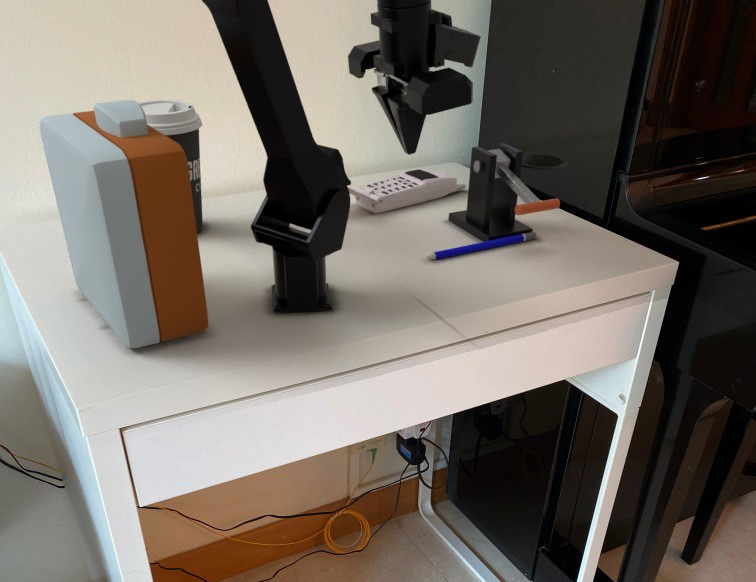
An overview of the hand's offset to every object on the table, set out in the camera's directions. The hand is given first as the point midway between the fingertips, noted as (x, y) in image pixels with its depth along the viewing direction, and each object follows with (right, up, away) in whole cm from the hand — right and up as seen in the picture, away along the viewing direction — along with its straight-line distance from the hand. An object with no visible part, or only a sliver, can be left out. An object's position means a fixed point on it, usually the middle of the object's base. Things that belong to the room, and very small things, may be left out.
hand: (410, 153), depth 94 cm
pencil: (+10, -9, +8) cm, 15 cm away
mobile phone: (-2, +2, +21) cm, 21 cm away
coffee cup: (-31, -5, +12) cm, 33 cm away
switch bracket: (+11, -4, +13) cm, 18 cm away
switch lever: (+13, -2, +7) cm, 15 cm away
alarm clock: (-30, -21, -8) cm, 37 cm away
